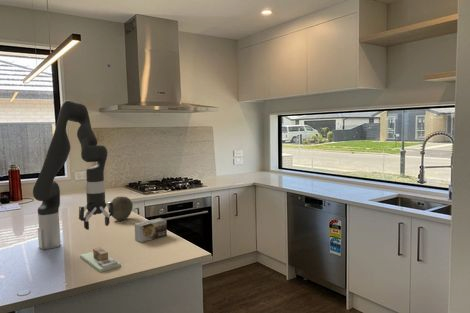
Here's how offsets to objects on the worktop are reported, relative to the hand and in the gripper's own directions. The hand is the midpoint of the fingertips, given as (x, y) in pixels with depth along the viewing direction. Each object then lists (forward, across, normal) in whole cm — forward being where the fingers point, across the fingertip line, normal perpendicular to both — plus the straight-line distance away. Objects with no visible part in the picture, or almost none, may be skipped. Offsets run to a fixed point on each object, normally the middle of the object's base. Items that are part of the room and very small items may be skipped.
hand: (97, 227), depth 154 cm
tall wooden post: (+14, -1, +4) cm, 15 cm away
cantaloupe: (+16, -38, -60) cm, 73 cm away
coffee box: (+11, -25, -13) cm, 30 cm away
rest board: (+16, -1, 0) cm, 16 cm away
